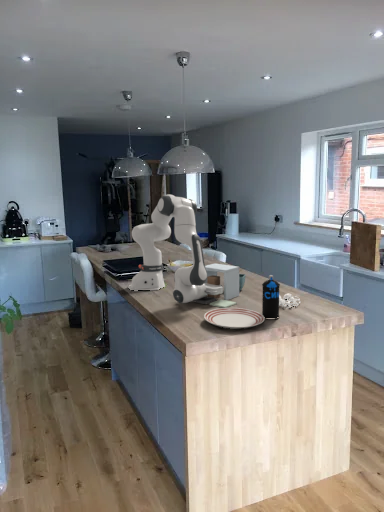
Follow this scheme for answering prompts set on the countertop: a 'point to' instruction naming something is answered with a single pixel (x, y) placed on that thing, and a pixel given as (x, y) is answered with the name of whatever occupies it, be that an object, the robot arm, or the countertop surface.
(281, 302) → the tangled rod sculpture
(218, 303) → the tile
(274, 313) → the aerosol can
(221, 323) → the dinner plate
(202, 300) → the trap pit
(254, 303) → the countertop surface
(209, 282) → the walnut block
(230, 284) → the tunnel
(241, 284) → the flower pot
